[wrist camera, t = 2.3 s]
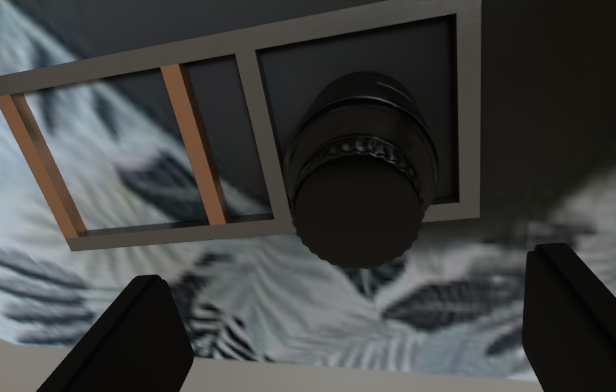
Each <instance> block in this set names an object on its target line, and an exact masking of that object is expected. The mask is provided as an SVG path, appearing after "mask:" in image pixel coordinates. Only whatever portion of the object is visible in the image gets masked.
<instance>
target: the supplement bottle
mask: <svg viewBox="0 0 616 392" xmlns="http://www.w3.org/2000/svg"><path fill="white" fill-rule="evenodd" d="M283 172H284V182H285V187H286V190H287V193H288V196H289V198H290V202H291V205H292V207H291V209H290V214H291V216H292V218H293V219H292V224H293V226H294V227H295V228H296V234H297V235H298V236H299V237H300V238H301V240H302V243H303V244H304V245H305V246H307V247H308V248H309V250H310V251H311V252H312V253H314V254H316V255H317V256H318V257H319V258H320V259H321V260H326V261H328V262H329V263H330V264H331V265H338V266H340V267H342V268H352V269H355V270H356V269H360V268H363V269H369V268H372V267H380V266H382V265H383V264H385V263H391V262H392V261H393V260H394V259H395V258H397V257H401V256H402V255H403V253H404V251H406V250H408V249H410V248H411V245H412V243H413V242H414V241H415V240H416V239H417V238H418V232H419V231H420V230H421V229H422V220H423V218H424V216H425V212H426V211H427V209H428V207H429V206H430V204H431V202H432V200H433V198H434V196H435V193H436V190H437V186H438V182H439V172H440V168H439V158H438V153H437V149H436V146H435V143H434V141H433V138H432V136H431V134H430V132H429V129H428V127H427V125H426V123H425V121H424V119H423V116H422V114H421V112H420V110H419V108H418V106H417V104H416V102H415V100H414V99H413V97H412V95H411V94H410V93H409V91H408V90H407V89H406V88H405V87H404V86H403V85H402V84H400V83H399V82H398V81H396V80H395V79H393V78H391V77H389V76H387V75H384V74H381V73H377V72H370V71H362V72H355V73H350V74H347V75H344V76H342V77H340V78H338V79H336V80H335V81H333V82H332V83H330V84H329V85H328V86H327V87H326V88H325V89H324V90H323V91H322V92H321V93H320V94H319V96H318V97H317V98H316V100H315V101H314V103H313V104H312V106H311V107H310V109H309V110H308V112H307V113H306V115H305V116H304V118H303V119H302V121H301V122H300V124H299V125H298V127H297V128H296V130H295V131H294V133H293V135H292V137H291V139H290V141H289V144H288V146H287V149H286V153H285V158H284V166H283Z"/></svg>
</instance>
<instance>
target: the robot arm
mask: <svg viewBox="0 0 616 392" xmlns="http://www.w3.org/2000/svg"><path fill="white" fill-rule="evenodd" d="M522 344H523V348H524V351H525V354H526V356H527V358H528V360H529V362H530V364H531V366H532V368H533V370H534V372H535V374H536V376H537V378H538V380H539V382H540V384H541V386H542V389H543V391H544V392H616V297H615V296H614V295H613V294H612V293H611V292H610V291H609V290H608V289H607V287H606V286H605V285H604V284H603V283H602V282H601V281H600V280H599V279H598V278H597V276H596V275H595V274H594V273H593V272H592V271H591V270H590V269H589V268H588V267H587V265H586V264H585V263H584V262H583V261H582V260H581V259H580V258H579V257H578V256H577V254H576V253H575V252H574V251H573V250H572V249H571V248H570V247H569V246H568V245H567V244H566V243H551V244H538V245H536V247H535V250H534V251H529V252H528V254H527V260H526V277H525V294H524V310H523V327H522ZM193 360H194V352H193V348H192V346H191V343H190V341H189V338H188V335H187V333H186V330H185V328H184V325H183V323H182V320H181V317H180V315H179V312H178V310H177V307H176V304H175V302H174V299H173V297H172V294H171V291H170V289H169V286H168V284H167V282H166V281H165V280H164V279H161V277H160V276H159V275H156V274H155V275H143V276H136V277H135V278H134V279H133V280H132V281H131V282H130V283H129V284H128V285H127V287H126V288H125V289H124V290H123V291H122V292H121V293H120V295H119V296H118V297H117V298H116V299H115V300H114V302H113V303H112V304H111V305H110V306H109V307H108V309H107V310H106V311H105V312H104V313H103V314H102V316H101V317H100V318H99V319H98V320H97V321H96V323H95V324H94V325H93V326H92V327H91V328H90V330H89V331H88V332H87V333H86V334H85V335H84V336H83V338H82V339H81V340H80V341H79V342H78V343H77V345H76V346H75V347H74V348H73V349H72V350H71V352H70V353H69V354H68V355H67V356H66V357H65V359H64V360H63V361H62V362H61V363H60V364H59V366H58V367H57V368H56V369H55V370H54V371H53V373H52V374H51V375H50V376H49V377H48V378H47V379H46V381H45V382H44V383H43V384H42V385H41V386H40V388H39V389H38V390H37V391H36V392H179V391H180V389H181V387H182V385H183V383H184V381H185V379H186V376H187V374H188V372H189V370H190V368H191V366H192V364H193Z"/></svg>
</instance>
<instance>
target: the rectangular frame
mask: <svg viewBox="0 0 616 392" xmlns="http://www.w3.org/2000/svg"><path fill="white" fill-rule="evenodd" d="M449 14H453V49H454V99H455V148H456V196H448V197H437V198H433V200H432V202H431V204H430V206H429V207H428V209H427V211H426V212H425V216H424V218H423V220H422V222H431V221H443V220H455V219H467V218H479V217H480V111H481V0H388V1H382V2H377V3H372V4H367V5H362V6H357V7H352V8H346V9H341V10H336V11H331V12H326V13H321V14H316V15H310V16H305V17H300V18H295V19H290V20H285V21H280V22H274V23H269V24H264V25H259V26H254V27H249V28H244V29H238V30H233V31H228V32H223V33H218V34H213V35H208V36H203V37H197V38H192V39H187V40H182V41H177V42H172V43H167V44H161V45H156V46H151V47H146V48H141V49H136V50H131V51H125V52H120V53H115V54H110V55H105V56H100V57H95V58H89V59H84V60H79V61H74V62H69V63H64V64H59V65H54V66H48V67H43V68H38V69H33V70H28V71H23V72H18V73H12V74H7V75H2V76H0V109H1V111H2V113H3V115H4V117H5V119H6V121H7V123H8V125H9V127H10V129H11V131H12V133H13V135H14V137H15V139H16V141H17V143H18V145H19V147H20V149H21V151H22V153H23V155H24V157H25V159H26V161H27V163H28V165H29V167H30V169H31V171H32V173H33V175H34V177H35V179H36V181H37V183H38V185H39V187H40V189H41V191H42V193H43V195H44V197H45V199H46V201H47V203H48V205H49V207H50V209H51V211H52V213H53V215H54V217H55V219H56V221H57V223H58V225H59V227H60V229H61V231H62V233H63V235H64V237H65V239H66V241H67V243H68V245H69V247H70V249H71V251H83V250H95V249H107V248H119V247H131V246H143V245H155V244H167V243H179V242H191V241H203V240H215V239H227V238H239V237H251V236H263V235H275V234H287V233H296V228H295V227H294V226H293V224H292V219H293V218H292V216H291V214H290V209H291V207H292V205H291V202H290V198H289V196H288V193H287V190H286V187H285V182H284V172H283V166H284V163H283V159H282V154H281V149H280V144H279V140H278V135H277V130H276V126H275V121H274V116H273V112H272V107H271V102H270V98H269V93H268V88H267V84H266V79H265V74H264V69H263V65H262V60H261V55H260V51H259V49H262V48H267V47H273V46H278V45H284V44H289V43H295V42H300V41H306V40H311V39H317V38H322V37H328V36H333V35H339V34H344V33H350V32H355V31H361V30H366V29H372V28H377V27H383V26H388V25H394V24H399V23H405V22H410V21H416V20H421V19H427V18H432V17H438V16H443V15H449ZM234 53H235V56H236V60H237V64H238V68H239V73H240V77H241V81H242V85H243V89H244V93H245V98H246V102H247V106H248V110H249V114H250V119H251V123H252V127H253V131H254V135H255V140H256V144H257V148H258V152H259V156H260V161H261V165H262V169H263V173H264V177H265V182H266V186H267V190H268V194H269V198H270V203H271V207H272V211H273V213H268V214H258V215H247V216H237V217H230V214H229V211H228V207H227V204H226V200H225V197H224V193H223V190H222V186H221V183H220V180H219V176H218V173H217V169H216V166H215V162H214V159H213V155H212V152H211V149H210V145H209V142H208V138H207V135H206V131H205V128H204V124H203V121H202V118H201V114H200V111H199V107H198V104H197V100H196V97H195V93H194V90H193V87H192V83H191V80H190V76H189V73H188V69H187V66H186V62H190V61H196V60H201V59H207V58H212V57H218V56H223V55H229V54H234ZM158 67H160V68H161V71H162V74H163V78H164V81H165V84H166V87H167V90H168V93H169V97H170V100H171V103H172V106H173V109H174V112H175V115H176V119H177V122H178V125H179V128H180V131H181V134H182V137H183V141H184V144H185V147H186V150H187V153H188V156H189V160H190V163H191V166H192V169H193V172H194V175H195V178H196V182H197V185H198V188H199V191H200V194H201V197H202V201H203V204H204V207H205V210H206V213H207V216H208V219H205V220H194V221H184V222H173V223H163V224H152V225H142V226H131V227H120V228H110V229H99V230H89V231H87V230H86V228H85V226H84V224H83V222H82V220H81V217H80V215H79V213H78V211H77V209H76V207H75V205H74V202H73V200H72V198H71V196H70V194H69V192H68V190H67V188H66V185H65V183H64V181H63V179H62V177H61V175H60V173H59V170H58V168H57V166H56V164H55V162H54V160H53V158H52V156H51V153H50V151H49V149H48V147H47V145H46V143H45V141H44V139H43V136H42V134H41V132H40V130H39V128H38V126H37V124H36V121H35V119H34V117H33V115H32V113H31V111H30V109H29V107H28V104H27V102H26V100H25V98H24V96H23V94H22V92H26V91H31V90H37V89H42V88H48V87H53V86H59V85H64V84H70V83H75V82H81V81H86V80H92V79H97V78H103V77H108V76H114V75H119V74H125V73H130V72H136V71H141V70H147V69H152V68H158Z"/></svg>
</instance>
